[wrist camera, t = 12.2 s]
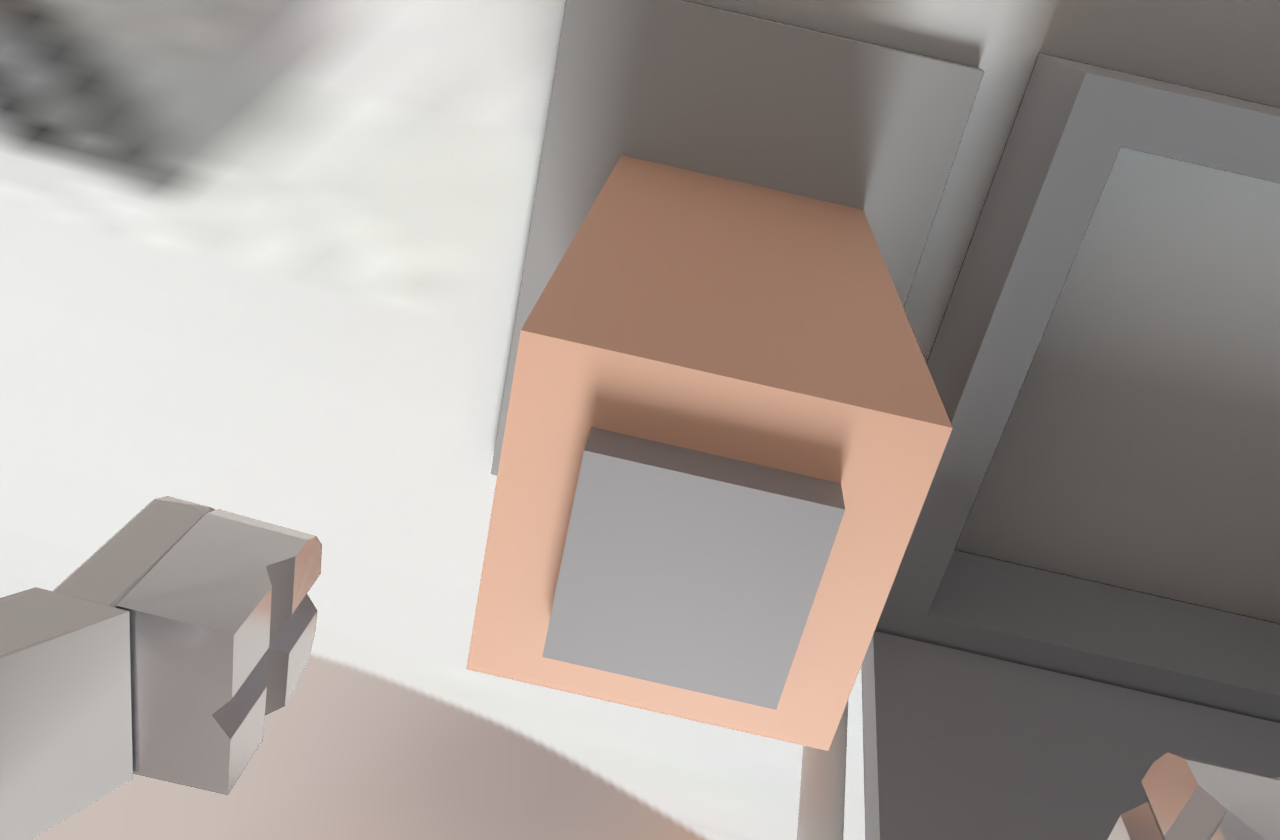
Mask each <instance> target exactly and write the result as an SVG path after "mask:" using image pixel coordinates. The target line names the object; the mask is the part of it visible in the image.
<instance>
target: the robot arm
mask: <svg viewBox="0 0 1280 840" xmlns="http://www.w3.org/2000/svg"><path fill="white" fill-rule="evenodd" d="M321 554H322V544H321V543H320V541H319V539H318V538H317V536H314V535H310V534H306V533H303V532H299V531H296V530H292V529H288V528H285V527H281V526H277V525H274V524H270V523H267V522H263V521H259V520H256V519H252V518H248V517H245V516H241V515H238V514H234V513H230V512H227V511H223V510H220V509H218V510H215V509H213V508H211V507H207V506H203V505H199V504H195V503H192V502H188V501H184V500H180V499H176V498H173V497H169V496H167V497H162V498H158V499H154V500H153V501H151V502H150V503H149V504H148V505H147V506H146V507H145V508H144V509H142V510H141V511H140V512H139V513H138V514H137V515H136V516H135V517H134V518H132V519H131V520H130V521H129V522H128V523H127V524H126V525H125V526H124V527H123V528H121V529H120V530H119V531H118V532H117V533H116V534H115V535H114V536H113V537H112V538H110V539H109V540H108V541H107V542H106V543H105V544H104V545H103V546H102V547H100V548H99V549H98V550H97V551H96V552H95V553H94V554H93V555H92V556H91V557H89V558H88V559H87V560H86V561H85V562H84V563H83V564H82V565H81V566H80V567H78V568H77V569H76V570H75V571H74V572H73V573H72V574H71V575H70V576H68V577H67V578H66V579H65V580H64V581H63V582H62V583H61V584H60V585H59V586H57V587H56V588H55V589H54V590H53V591H48V590H44V589H40V588H32V589H29V590H26V591H22V592H19V593H16V594H13V595H9V596H6V597H3V598H0V840H30V839H32V838H34V837H36V836H37V835H39V834H41V833H42V832H44V831H46V830H47V829H49V828H51V827H53V826H54V825H56V824H58V823H59V822H61V821H63V820H65V819H66V818H68V817H70V816H71V815H73V814H75V813H76V812H78V811H80V810H81V809H83V808H85V807H87V806H88V805H90V804H92V803H93V802H95V801H97V800H98V799H100V798H102V797H103V796H105V795H107V794H109V793H110V792H112V791H113V790H115V789H117V788H119V787H120V786H122V785H124V784H125V783H127V782H129V781H131V780H132V779H133V774H137V775H142V776H146V777H150V778H155V779H159V780H163V781H168V782H173V783H177V784H181V785H186V786H190V787H195V788H199V789H204V790H208V791H212V792H216V793H221V794H225V795H228V794H229V793H230V791H231V789H232V788H233V786H234V785H235V783H236V782H237V780H238V779H239V777H240V776H241V774H242V772H243V771H244V769H245V768H246V766H247V765H248V763H249V762H250V760H251V758H252V757H253V755H254V754H255V752H256V751H257V749H258V748H259V746H260V744H261V743H262V741H263V734H264V720H265V715H267V714H269V713H271V712H273V711H275V710H278V709H280V708H282V707H284V706H285V705H286V703H287V702H288V700H289V698H290V697H291V695H292V693H293V692H294V690H295V689H296V687H297V685H298V683H299V681H300V678H301V676H302V673H303V671H304V669H305V666H306V664H307V661H308V659H309V656H310V653H311V648H312V644H313V640H314V635H315V630H316V620H317V609H316V608H315V606H314V605H313V603H312V601H311V600H310V598H309V597H308V595H307V592H308V591H309V590H310V588H311V587H312V585H313V584H314V582H315V581H316V579H317V578H318V577H319V575H320V574H321ZM1141 782H1142V786H1143V789H1144V793H1145V796H1146V800H1147V802H1146V803H1144V804H1142V805H1140V806H1138V807H1136V808H1134V809H1132V810H1130V811H1128V812H1125V813H1123V814H1121V815H1120V817H1119V819H1118V821H1117V823H1116V824H1115V826H1114V828H1113V830H1112V832H1111V834H1110V835H1109V837H1108V839H1107V840H1280V778H1277V777H1276V778H1269V777H1266V776H1262V775H1258V774H1254V773H1250V772H1245V771H1241V770H1237V769H1233V768H1229V767H1225V766H1221V765H1217V764H1213V763H1209V762H1205V761H1201V760H1197V759H1193V758H1189V757H1185V756H1181V755H1177V754H1173V753H1169V752H1167V753H1166V754H1164V755H1163V756H1162V757H1160V758H1159V759H1157V760H1156V761H1154V762H1153V764H1152V765H1151V767H1150V768H1149V770H1148V772H1147V773H1146V775H1145V776H1144V778H1143V779H1142V781H1141Z"/></svg>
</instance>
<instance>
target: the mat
mask: <svg viewBox="0 0 1280 840" xmlns="http://www.w3.org/2000/svg"><path fill="white" fill-rule="evenodd" d="M983 74H984V71H983V70H981V69H979V68H975V67H971V66H967V65H962V64H958V63H954V62H949V61H945V60H941V59H936V58H932V57H927V56H923V55H919V54H914V53H910V52H906V51H901V50H897V49H893V48H888V47H884V46H879V45H875V44H871V43H866V42H862V41H858V40H853V39H849V38H844V37H840V36H836V35H831V34H827V33H823V32H818V31H814V30H810V29H805V28H801V27H796V26H792V25H788V24H783V23H779V22H775V21H770V20H766V19H762V18H757V17H753V16H748V15H744V14H740V13H735V12H731V11H727V10H722V9H718V8H714V7H709V6H705V5H700V4H696V3H692V2H687V1H683V0H566V5H565V11H564V18H563V24H562V30H561V36H560V43H559V49H558V55H557V62H556V68H555V74H554V80H553V87H552V93H551V99H550V106H549V112H548V118H547V125H546V131H545V137H544V143H543V150H542V156H541V162H540V169H539V175H538V181H537V187H536V194H535V200H534V206H533V213H532V219H531V225H530V232H529V238H528V244H527V250H526V257H525V263H524V269H523V276H522V282H521V288H520V294H519V301H518V307H517V313H516V320H515V326H514V332H513V339H512V345H511V351H510V357H509V364H508V370H507V376H506V383H505V389H504V395H503V401H502V408H501V414H500V420H499V427H498V433H497V439H496V446H495V452H494V458H493V464H492V471H491V474H494V475H498V469H499V463H500V457H501V450H502V444H503V438H504V432H505V425H506V419H507V413H508V407H509V400H510V394H511V388H512V382H513V375H514V369H515V363H516V357H517V350H518V344H519V338H520V332H521V329H522V327H523V325H524V324H525V322H526V320H527V318H528V317H529V315H530V313H531V311H532V310H533V308H534V306H535V304H536V303H537V301H538V299H539V297H540V296H541V294H542V292H543V291H544V289H545V287H546V285H547V284H548V282H549V280H550V278H551V277H552V275H553V273H554V271H555V270H556V268H557V266H558V264H559V263H560V261H561V259H562V258H563V256H564V254H565V252H566V251H567V249H568V247H569V245H570V244H571V242H572V240H573V238H574V237H575V235H576V233H577V231H578V230H579V228H580V226H581V224H582V223H583V221H584V219H585V218H586V216H587V214H588V212H589V211H590V209H591V207H592V205H593V204H594V202H595V200H596V198H597V197H598V195H599V193H600V191H601V190H602V188H603V186H604V185H605V183H606V181H607V179H608V178H609V176H610V174H611V172H612V171H613V169H614V167H615V165H616V164H617V162H618V160H619V158H620V157H621V155H623V156H628V157H632V158H636V159H641V160H645V161H650V162H654V163H658V164H663V165H667V166H672V167H676V168H681V169H685V170H689V171H694V172H698V173H703V174H707V175H711V176H716V177H720V178H725V179H729V180H733V181H738V182H742V183H747V184H751V185H755V186H760V187H764V188H769V189H773V190H778V191H782V192H786V193H791V194H795V195H800V196H804V197H808V198H813V199H817V200H822V201H826V202H830V203H835V204H839V205H844V206H848V207H852V208H857V209H861V210H864V212H865V215H866V217H867V220H868V222H869V225H870V227H871V230H872V232H873V234H874V237H875V239H876V242H877V244H878V247H879V249H880V252H881V254H882V256H883V259H884V261H885V264H886V266H887V269H888V271H889V274H890V276H891V278H892V281H893V283H894V286H895V288H896V291H897V293H898V296H899V298H900V300H901V303H902V305H903V308H904V305H905V302H906V299H907V296H908V293H909V291H910V288H911V285H912V282H913V279H914V276H915V273H916V270H917V267H918V264H919V261H920V258H921V255H922V253H923V250H924V247H925V244H926V241H927V238H928V235H929V232H930V229H931V226H932V223H933V220H934V217H935V214H936V212H937V209H938V206H939V203H940V200H941V197H942V194H943V191H944V188H945V185H946V182H947V179H948V176H949V174H950V171H951V168H952V165H953V162H954V159H955V156H956V153H957V150H958V147H959V144H960V141H961V138H962V136H963V133H964V130H965V127H966V124H967V121H968V118H969V115H970V112H971V109H972V106H973V103H974V100H975V97H976V95H977V92H978V89H979V86H980V83H981V80H982V77H983Z"/></svg>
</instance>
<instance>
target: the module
mask: <svg viewBox="0 0 1280 840" xmlns="http://www.w3.org/2000/svg"><path fill="white" fill-rule="evenodd" d="M952 429H953V428H952V425H951V423H950V420H949V418H948V415H947V413H946V410H945V408H944V406H943V403H942V401H941V398H940V396H939V393H938V391H937V388H936V386H935V384H934V381H933V379H932V376H931V374H930V371H929V369H928V366H927V364H926V362H925V359H924V357H923V354H922V352H921V349H920V347H919V344H918V342H917V340H916V337H915V335H914V332H913V330H912V327H911V325H910V322H909V320H908V318H907V315H906V313H905V310H904V308H903V305H902V303H901V300H900V298H899V296H898V293H897V291H896V288H895V286H894V283H893V281H892V278H891V276H890V274H889V271H888V269H887V266H886V264H885V261H884V259H883V256H882V254H881V252H880V249H879V247H878V244H877V242H876V239H875V237H874V234H873V232H872V230H871V227H870V225H869V222H868V220H867V217H866V215H865V212H864V210H861V209H857V208H852V207H848V206H844V205H839V204H835V203H830V202H826V201H822V200H817V199H813V198H808V197H804V196H800V195H795V194H791V193H786V192H782V191H778V190H773V189H769V188H764V187H760V186H755V185H751V184H747V183H742V182H738V181H733V180H729V179H725V178H720V177H716V176H711V175H707V174H703V173H698V172H694V171H689V170H685V169H681V168H676V167H672V166H667V165H663V164H658V163H654V162H650V161H645V160H641V159H636V158H632V157H628V156H623V155H621V157H620V158H619V160H618V162H617V164H616V165H615V167H614V169H613V171H612V172H611V174H610V176H609V178H608V179H607V181H606V183H605V185H604V186H603V188H602V190H601V191H600V193H599V195H598V197H597V198H596V200H595V202H594V204H593V205H592V207H591V209H590V211H589V212H588V214H587V216H586V218H585V219H584V221H583V223H582V224H581V226H580V228H579V230H578V231H577V233H576V235H575V237H574V238H573V240H572V242H571V244H570V245H569V247H568V249H567V251H566V252H565V254H564V256H563V258H562V259H561V261H560V263H559V264H558V266H557V268H556V270H555V271H554V273H553V275H552V277H551V278H550V280H549V282H548V284H547V285H546V287H545V289H544V291H543V292H542V294H541V296H540V297H539V299H538V301H537V303H536V304H535V306H534V308H533V310H532V311H531V313H530V315H529V317H528V318H527V320H526V322H525V324H524V325H523V327H522V329H521V332H520V338H519V344H518V350H517V357H516V363H515V369H514V375H513V382H512V388H511V394H510V400H509V407H508V413H507V419H506V425H505V432H504V438H503V444H502V450H501V457H500V463H499V469H498V475H497V481H496V488H495V494H494V500H493V506H492V513H491V519H490V525H489V531H488V538H487V544H486V550H485V556H484V563H483V569H482V575H481V581H480V588H479V594H478V600H477V606H476V613H475V619H474V625H473V631H472V638H471V644H470V650H469V656H468V663H467V669H468V670H472V671H477V672H481V673H486V674H490V675H494V676H499V677H503V678H508V679H512V680H517V681H521V682H525V683H530V684H534V685H539V686H543V687H547V688H552V689H556V690H561V691H565V692H570V693H574V694H578V695H583V696H587V697H592V698H596V699H600V700H605V701H609V702H614V703H618V704H623V705H627V706H631V707H636V708H640V709H645V710H649V711H653V712H658V713H662V714H667V715H671V716H676V717H680V718H684V719H689V720H693V721H698V722H702V723H706V724H711V725H715V726H720V727H724V728H729V729H733V730H737V731H742V732H746V733H751V734H755V735H759V736H764V737H768V738H773V739H777V740H782V741H786V742H790V743H795V744H799V745H804V746H808V747H812V748H817V749H821V750H826V751H829V748H830V745H831V743H832V740H833V738H834V735H835V732H836V730H837V727H838V725H839V722H840V719H841V717H842V714H843V712H844V709H845V706H846V704H847V701H848V699H849V696H850V693H851V691H852V688H853V686H854V683H855V680H856V678H857V675H858V673H859V670H860V667H861V665H862V662H863V660H864V657H865V654H866V652H867V649H868V647H869V644H870V642H871V639H872V636H873V634H874V631H875V629H876V626H877V623H878V621H879V618H880V616H881V613H882V610H883V608H884V605H885V603H886V600H887V597H888V595H889V592H890V590H891V587H892V584H893V582H894V579H895V577H896V574H897V571H898V569H899V566H900V564H901V561H902V558H903V556H904V553H905V551H906V548H907V545H908V543H909V540H910V538H911V535H912V532H913V530H914V527H915V525H916V522H917V519H918V517H919V514H920V512H921V509H922V506H923V504H924V501H925V499H926V496H927V493H928V491H929V488H930V486H931V483H932V480H933V478H934V475H935V473H936V470H937V467H938V465H939V462H940V460H941V457H942V454H943V452H944V449H945V447H946V444H947V442H948V439H949V436H950V434H951V431H952Z"/></svg>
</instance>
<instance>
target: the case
mask: <svg viewBox="0 0 1280 840" xmlns="http://www.w3.org/2000/svg"><path fill="white" fill-rule="evenodd" d="M1120 147H1123V148H1128V149H1132V150H1137V151H1141V152H1145V153H1150V154H1154V155H1158V156H1163V157H1167V158H1171V159H1176V160H1180V161H1185V162H1189V163H1193V164H1198V165H1202V166H1206V167H1211V168H1215V169H1220V170H1224V171H1228V172H1233V173H1237V174H1241V175H1246V176H1250V177H1254V178H1259V179H1263V180H1268V181H1272V182H1276V183H1280V108H1277V107H1273V106H1268V105H1264V104H1260V103H1255V102H1251V101H1246V100H1242V99H1238V98H1233V97H1229V96H1225V95H1220V94H1216V93H1212V92H1207V91H1203V90H1198V89H1194V88H1190V87H1185V86H1181V85H1177V84H1172V83H1168V82H1164V81H1159V80H1155V79H1150V78H1146V77H1142V76H1137V75H1133V74H1129V73H1124V72H1120V71H1116V70H1111V69H1107V68H1102V67H1098V66H1094V65H1089V64H1085V63H1081V62H1076V61H1072V60H1067V59H1063V58H1059V57H1054V56H1050V55H1046V54H1041V53H1039V55H1038V58H1037V61H1036V63H1035V66H1034V69H1033V72H1032V75H1031V77H1030V80H1029V83H1028V86H1027V88H1026V91H1025V94H1024V97H1023V99H1022V102H1021V105H1020V108H1019V110H1018V113H1017V116H1016V119H1015V121H1014V124H1013V127H1012V130H1011V132H1010V135H1009V138H1008V141H1007V143H1006V146H1005V149H1004V152H1003V155H1002V157H1001V160H1000V163H999V166H998V168H997V171H996V174H995V177H994V179H993V182H992V185H991V188H990V190H989V193H988V196H987V199H986V201H985V204H984V207H983V210H982V212H981V215H980V218H979V221H978V224H977V226H976V229H975V232H974V235H973V237H972V240H971V243H970V246H969V248H968V251H967V254H966V257H965V259H964V262H963V265H962V268H961V270H960V273H959V276H958V279H957V281H956V284H955V287H954V290H953V292H952V295H951V298H950V301H949V304H948V306H947V309H946V312H945V315H944V317H943V320H942V323H941V326H940V328H939V331H938V334H937V337H936V339H935V342H934V345H933V348H932V350H931V353H930V356H929V359H928V361H927V366H928V369H929V371H930V374H931V376H932V379H933V381H934V384H935V386H936V388H937V391H938V393H939V396H940V398H941V401H942V403H943V406H944V408H945V410H946V413H947V415H948V418H949V420H950V423H951V425H952V428H953V429H952V431H951V434H950V436H949V439H948V442H947V444H946V447H945V449H944V452H943V454H942V457H941V460H940V462H939V465H938V467H937V470H936V473H935V475H934V478H933V480H932V483H931V486H930V488H929V491H928V493H927V496H926V499H925V501H924V504H923V506H922V509H921V512H920V514H919V517H918V519H917V522H916V525H915V527H914V530H913V532H912V535H911V538H910V540H909V543H908V545H907V548H906V551H905V553H904V556H903V558H902V561H901V564H900V566H899V569H898V571H897V574H896V577H895V579H894V582H893V584H892V587H891V590H890V592H889V595H888V597H887V600H886V603H885V605H884V608H883V610H882V613H881V616H880V618H879V621H878V623H877V626H876V629H875V631H874V634H873V636H872V639H871V642H870V644H869V647H868V649H867V652H866V654H865V657H864V660H863V662H862V708H863V753H864V797H865V840H1107V839H1108V837H1109V835H1110V834H1111V832H1112V830H1113V828H1114V826H1115V824H1116V823H1117V821H1118V819H1119V817H1120V815H1121V814H1123V813H1125V812H1128V811H1130V810H1132V809H1134V808H1136V807H1138V806H1140V805H1142V804H1144V803H1146V802H1147V800H1146V796H1145V793H1144V789H1143V786H1142V782H1141V781H1142V779H1143V778H1144V776H1145V775H1146V773H1147V772H1148V770H1149V768H1150V767H1151V765H1152V764H1153V762H1154V761H1156V760H1157V759H1159V758H1160V757H1162V756H1163V755H1164V754H1166V753H1167V752H1169V753H1173V754H1177V755H1181V756H1185V757H1189V758H1193V759H1197V760H1201V761H1205V762H1209V763H1213V764H1217V765H1221V766H1225V767H1229V768H1233V769H1237V770H1241V771H1245V772H1250V773H1254V774H1258V775H1262V776H1266V777H1269V778H1276V777H1277V778H1280V624H1276V623H1272V622H1268V621H1263V620H1259V619H1255V618H1250V617H1246V616H1241V615H1237V614H1233V613H1228V612H1224V611H1219V610H1215V609H1211V608H1206V607H1202V606H1198V605H1193V604H1189V603H1184V602H1180V601H1176V600H1171V599H1167V598H1163V597H1158V596H1154V595H1149V594H1145V593H1141V592H1136V591H1132V590H1127V589H1123V588H1119V587H1114V586H1110V585H1106V584H1101V583H1097V582H1092V581H1088V580H1084V579H1079V578H1075V577H1071V576H1066V575H1062V574H1057V573H1053V572H1049V571H1044V570H1040V569H1035V568H1031V567H1027V566H1022V565H1018V564H1014V563H1009V562H1005V561H1000V560H996V559H992V558H987V557H983V556H979V555H974V554H970V553H965V552H961V551H957V550H954V549H955V546H956V544H957V542H958V539H959V537H960V534H961V532H962V529H963V527H964V525H965V522H966V520H967V517H968V515H969V513H970V510H971V508H972V505H973V503H974V500H975V498H976V496H977V493H978V491H979V488H980V486H981V483H982V481H983V479H984V476H985V474H986V471H987V469H988V467H989V464H990V462H991V459H992V457H993V454H994V452H995V450H996V447H997V445H998V442H999V440H1000V437H1001V435H1002V433H1003V430H1004V428H1005V425H1006V423H1007V421H1008V418H1009V416H1010V413H1011V411H1012V408H1013V406H1014V404H1015V401H1016V399H1017V396H1018V394H1019V392H1020V389H1021V387H1022V384H1023V382H1024V379H1025V377H1026V375H1027V372H1028V370H1029V367H1030V365H1031V362H1032V360H1033V358H1034V355H1035V353H1036V350H1037V348H1038V346H1039V343H1040V341H1041V338H1042V336H1043V333H1044V331H1045V329H1046V326H1047V324H1048V321H1049V319H1050V316H1051V314H1052V312H1053V309H1054V307H1055V304H1056V302H1057V300H1058V297H1059V295H1060V292H1061V290H1062V287H1063V285H1064V283H1065V280H1066V278H1067V275H1068V273H1069V270H1070V268H1071V266H1072V263H1073V261H1074V258H1075V256H1076V254H1077V251H1078V249H1079V246H1080V244H1081V241H1082V239H1083V237H1084V234H1085V232H1086V229H1087V227H1088V225H1089V222H1090V220H1091V217H1092V215H1093V212H1094V210H1095V208H1096V205H1097V203H1098V200H1099V198H1100V195H1101V193H1102V191H1103V188H1104V186H1105V183H1106V181H1107V179H1108V176H1109V174H1110V171H1111V169H1112V166H1113V164H1114V162H1115V159H1116V157H1117V154H1118V152H1119V149H1120ZM847 720H848V701H847V704H846V706H845V709H844V712H843V714H842V717H841V719H840V722H839V725H838V727H837V730H836V732H835V735H834V738H833V740H832V743H831V745H830V748H829V751H826V750H821V749H817V748H812V747H808V746H804V745H803V756H802V772H801V787H800V802H799V817H798V832H797V840H843V830H844V802H845V775H846V747H847Z"/></svg>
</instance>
